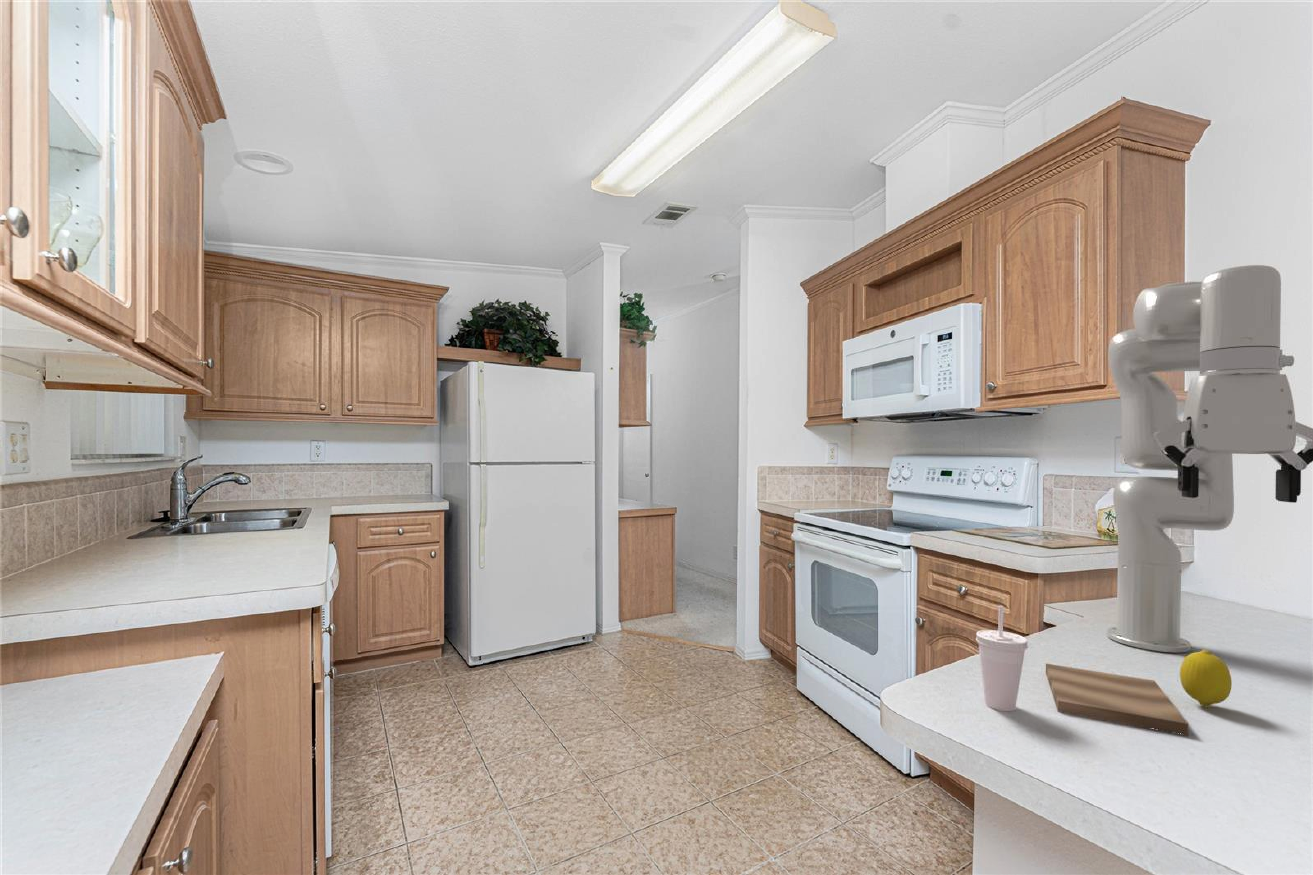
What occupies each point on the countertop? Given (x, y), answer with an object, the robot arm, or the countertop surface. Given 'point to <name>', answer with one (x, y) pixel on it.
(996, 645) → the smoothie
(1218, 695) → the lemon
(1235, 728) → the countertop surface
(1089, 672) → the cutting board
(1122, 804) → the countertop surface
